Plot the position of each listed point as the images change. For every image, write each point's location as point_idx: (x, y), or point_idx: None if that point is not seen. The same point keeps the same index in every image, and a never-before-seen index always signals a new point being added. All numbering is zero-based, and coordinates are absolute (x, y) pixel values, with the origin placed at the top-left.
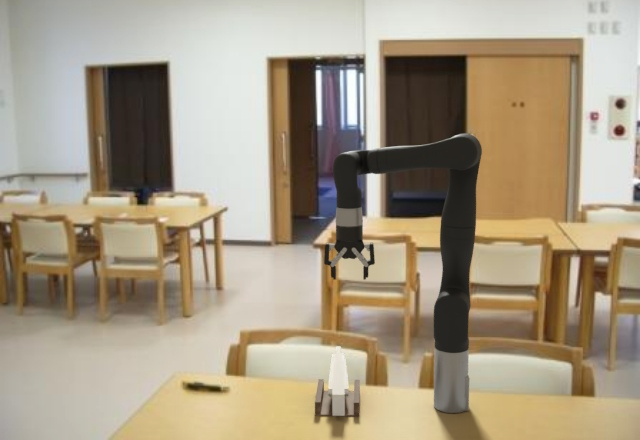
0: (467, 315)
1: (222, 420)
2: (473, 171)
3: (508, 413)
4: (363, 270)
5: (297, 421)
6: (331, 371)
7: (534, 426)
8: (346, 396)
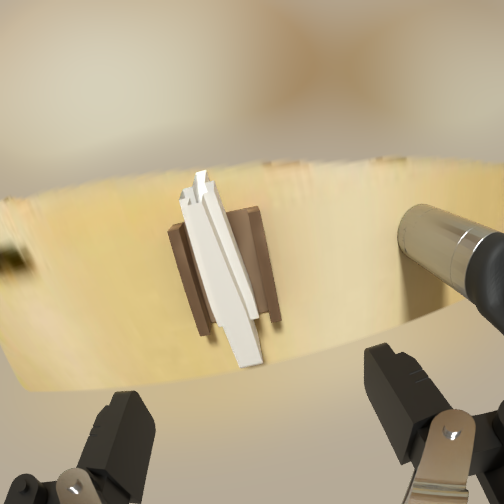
0: None
1: (84, 357)
2: None
3: None
4: (391, 443)
5: (182, 345)
6: (204, 274)
7: None
8: (236, 239)
